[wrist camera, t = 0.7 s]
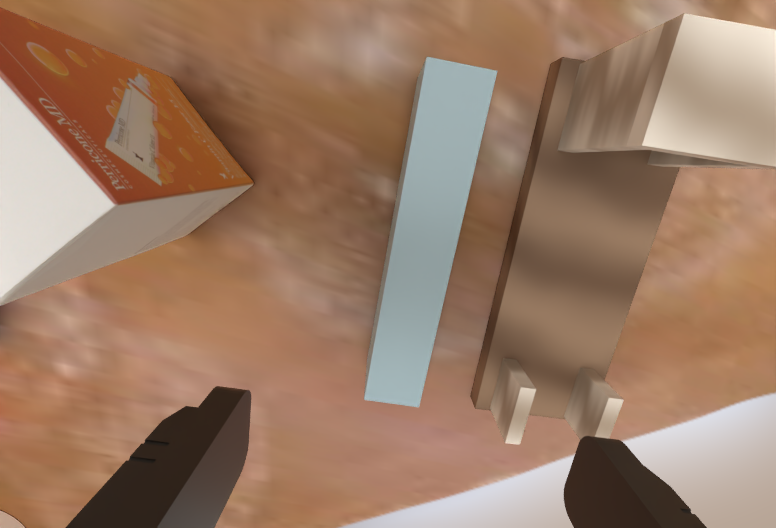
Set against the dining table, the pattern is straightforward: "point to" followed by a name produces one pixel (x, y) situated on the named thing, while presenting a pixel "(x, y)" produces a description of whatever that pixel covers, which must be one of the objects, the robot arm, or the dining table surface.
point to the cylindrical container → (9, 521)
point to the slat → (426, 225)
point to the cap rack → (612, 206)
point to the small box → (95, 159)
